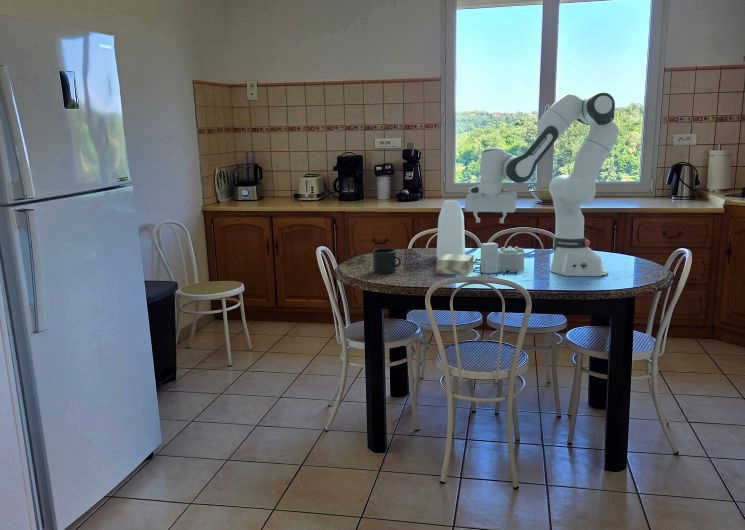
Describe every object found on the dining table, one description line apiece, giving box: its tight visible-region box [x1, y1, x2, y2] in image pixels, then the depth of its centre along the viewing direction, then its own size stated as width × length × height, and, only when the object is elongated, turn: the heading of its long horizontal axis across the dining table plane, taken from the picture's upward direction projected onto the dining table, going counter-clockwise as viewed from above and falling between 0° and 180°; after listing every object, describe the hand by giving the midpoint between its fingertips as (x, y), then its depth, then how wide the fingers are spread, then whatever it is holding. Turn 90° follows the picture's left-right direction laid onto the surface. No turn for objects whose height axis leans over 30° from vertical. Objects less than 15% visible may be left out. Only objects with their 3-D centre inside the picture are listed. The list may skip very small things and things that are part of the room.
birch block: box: [436, 254, 475, 276], centre depth 272 cm, size 13×13×6 cm
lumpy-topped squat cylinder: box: [498, 245, 525, 272], centre depth 276 cm, size 10×13×9 cm
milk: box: [435, 200, 466, 258], centre depth 299 cm, size 12×12×26 cm
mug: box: [372, 248, 402, 275], centre depth 271 cm, size 9×12×9 cm
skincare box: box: [480, 242, 499, 274], centre depth 267 cm, size 6×4×12 cm
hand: (489, 222), depth 264 cm, fingers open, 8 cm apart
